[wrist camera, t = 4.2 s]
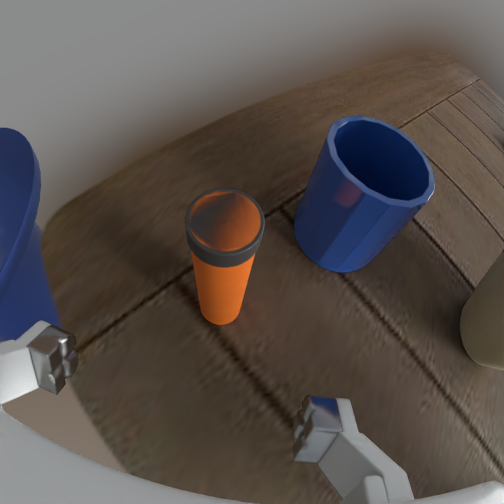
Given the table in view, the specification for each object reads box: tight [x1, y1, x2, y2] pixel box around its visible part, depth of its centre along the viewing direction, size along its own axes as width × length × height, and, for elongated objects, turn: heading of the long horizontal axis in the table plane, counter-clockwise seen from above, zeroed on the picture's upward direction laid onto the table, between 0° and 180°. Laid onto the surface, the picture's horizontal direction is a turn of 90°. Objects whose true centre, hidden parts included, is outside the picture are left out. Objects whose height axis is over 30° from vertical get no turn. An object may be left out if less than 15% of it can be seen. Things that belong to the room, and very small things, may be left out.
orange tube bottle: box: [185, 188, 265, 325], centre depth 18 cm, size 3×3×12 cm
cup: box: [294, 116, 434, 273], centre depth 23 cm, size 8×8×10 cm
